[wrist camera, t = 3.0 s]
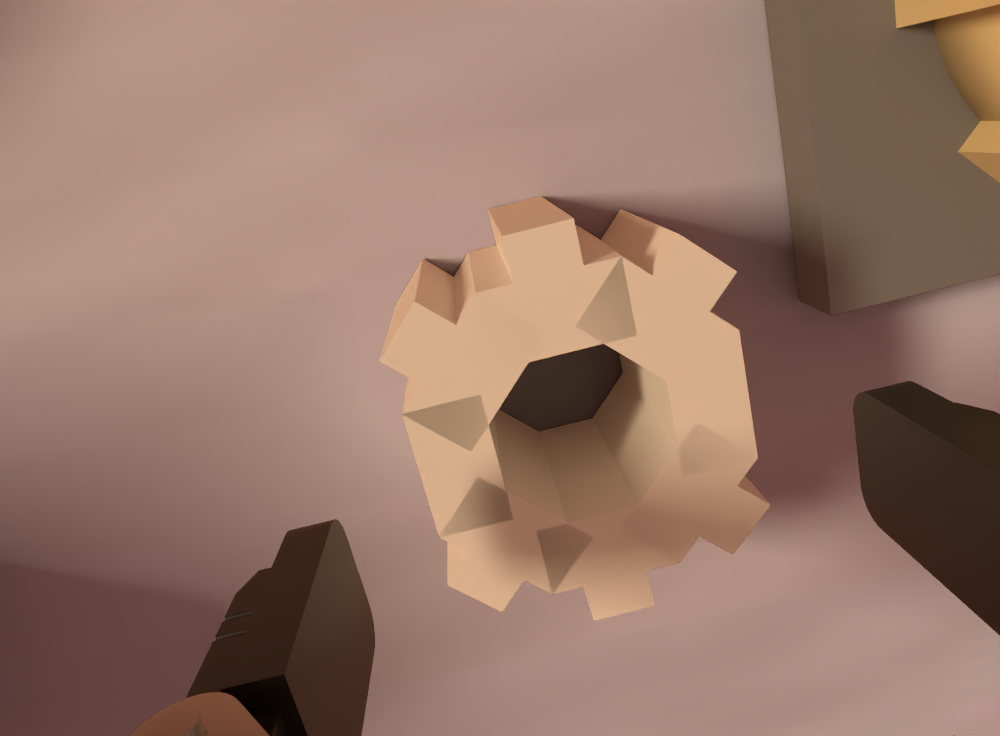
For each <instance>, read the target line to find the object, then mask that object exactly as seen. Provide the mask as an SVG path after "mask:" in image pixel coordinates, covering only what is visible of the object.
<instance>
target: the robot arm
mask: <svg viewBox="0 0 1000 736" xmlns="http://www.w3.org/2000/svg"><path fill="white" fill-rule="evenodd" d="M853 411H854V423H855V432H856V442H857V452H858V462H859V471H860V481H861V489H862V494H863V498H864V501H865V504H866V506H867V508H868V511H869V513H870V514H871V516H872V518H873V519H874V521H875V522H876V524H877V525H878V526H879V527H880V528H881V529H882V530H883V531H884V532H885V533H886V534H887V535H889V536H890V537H891V538H892V539H893V540H894V541H895V542H896V543H897V544H899V545H900V546H901V547H902V548H903V549H904V550H905V551H906V552H908V553H909V554H910V555H911V556H912V557H913V558H914V559H915V560H916V561H918V562H919V563H920V564H921V565H922V566H923V567H924V568H925V569H926V570H928V571H929V572H930V573H931V574H932V575H933V576H934V577H935V578H936V579H938V580H939V581H940V582H941V583H942V584H943V585H944V586H945V587H946V588H948V589H949V590H950V591H951V592H952V593H953V594H954V595H955V596H957V597H958V598H959V599H960V600H961V601H962V602H963V603H964V604H965V605H967V606H968V607H969V608H970V609H971V610H972V611H973V612H974V613H975V614H977V615H978V616H979V617H980V618H981V619H982V620H983V621H984V622H985V623H987V624H988V625H989V626H990V627H991V628H992V629H993V630H994V631H995V632H997V633H998V634H999V635H1000V414H998V413H996V412H994V411H990V410H986V409H981V408H977V407H973V406H968V405H964V404H959V403H953V402H951V401H949V400H947V399H945V398H943V397H942V396H940V395H938V394H936V393H934V392H932V391H930V390H928V389H926V388H924V387H922V386H920V385H918V384H916V383H914V382H912V381H907V382H903V383H899V384H895V385H891V386H886V387H882V388H878V389H874V390H870V391H866V392H862V393H859V394H858V395H857V396H856V398H855V400H854V407H853ZM374 649H375V632H374V624H373V618H372V613H371V609H370V606H369V602H368V599H367V597H366V594H365V591H364V588H363V585H362V582H361V579H360V576H359V573H358V570H357V567H356V564H355V561H354V558H353V555H352V552H351V549H350V546H349V543H348V540H347V537H346V534H345V531H344V529H343V527H342V525H341V524H340V522H339V521H338V520H336V519H335V520H331V521H327V522H323V523H319V524H315V525H310V526H306V527H302V528H298V529H294V530H290V531H288V532H287V533H286V535H285V537H284V540H283V542H282V544H281V547H280V549H279V552H278V554H277V556H276V559H275V561H274V563H273V566H272V568H268V569H264V570H260V571H258V572H257V573H256V574H255V575H254V576H253V577H252V578H251V579H250V580H249V581H248V582H247V583H246V584H245V585H244V586H243V587H242V588H241V589H240V590H239V591H238V592H237V593H236V595H235V597H234V599H233V601H232V603H231V605H230V607H229V609H228V612H227V614H226V616H225V621H224V622H222V624H221V626H220V628H219V630H218V632H217V635H216V641H214V642H213V643H212V645H211V647H210V649H209V651H208V653H207V655H206V658H205V660H204V662H203V664H202V666H201V668H200V670H199V672H198V674H197V676H196V678H195V681H194V683H193V685H192V687H191V689H190V691H189V693H188V695H187V697H186V699H183V700H180V701H178V702H176V703H174V704H172V705H170V706H168V707H166V708H164V709H163V710H161V711H159V712H158V713H156V714H155V715H153V716H152V717H150V718H149V719H148V720H146V721H145V722H144V723H143V724H141V725H140V726H139V727H138V728H137V729H136V730H135V731H134V732H133V733H131V734H130V735H129V736H361V734H362V728H363V721H364V715H365V708H366V702H367V695H368V689H369V682H370V675H371V669H372V662H373V656H374Z"/></svg>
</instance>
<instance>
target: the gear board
mask: <svg viewBox="0 0 1000 736" xmlns="http://www.w3.org/2000/svg"><path fill="white" fill-rule="evenodd" d="M765 8H766V17H767V25H768V33H769V42H770V50H771V59H772V67H773V75H774V84H775V92H776V101H777V109H778V117H779V126H780V134H781V143H782V151H783V159H784V168H785V176H786V185H787V193H788V201H789V210H790V218H791V227H792V235H793V243H794V252H795V260H796V269H797V277H798V285H799V294H800V301H801V302H803V303H805V304H807V305H810V306H812V307H814V308H816V309H818V310H820V311H822V312H824V313H826V314H829V315H831V316H833V315H837V314H841V313H845V312H849V311H853V310H857V309H861V308H865V307H869V306H873V305H877V304H881V303H885V302H889V301H893V300H897V299H901V298H905V297H909V296H913V295H917V294H921V293H925V292H929V291H933V290H937V289H941V288H945V287H949V286H953V285H957V284H961V283H965V282H969V281H973V280H977V279H981V278H985V277H989V276H993V275H997V274H1000V0H765Z"/></svg>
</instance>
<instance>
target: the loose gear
mask: <svg viewBox="0 0 1000 736" xmlns="http://www.w3.org/2000/svg"><path fill="white" fill-rule="evenodd" d="M488 212H489V216H490V220H491V224H492V228H493V232H494V237H495V241H496V245H495V246H491V247H487V248H483V249H479V250H476V251H472V252H468V254H467V256H466V257H465V259H464V261H463V263H462V264H461V266H460V268H459V269H458V271H457V273H456V274H455V276H454V277H453V276H452V275H450V274H448V273H447V272H445V271H443V270H441V269H440V268H438V267H436V266H435V265H433V264H431V263H430V262H428V261H426V260H424V259H422V261H421V263H420V264H419V266H418V268H417V270H416V271H415V273H414V275H413V276H412V278H411V280H410V282H409V283H408V285H407V287H406V288H405V290H404V292H403V294H402V295H401V297H400V299H399V300H398V302H397V304H396V307H395V310H394V314H393V317H392V320H391V324H390V327H389V331H388V334H387V337H386V341H385V344H384V347H383V351H382V354H381V357H380V362H381V363H383V364H385V365H387V366H389V367H391V368H392V369H394V370H396V371H398V372H400V373H402V374H403V375H405V376H407V377H408V380H407V386H406V392H405V399H404V405H403V411H402V416H403V419H404V422H405V426H406V429H407V432H408V435H409V439H410V442H411V445H412V449H413V452H414V455H415V459H416V462H417V465H418V469H419V472H420V475H421V479H422V482H423V485H424V489H425V492H426V495H427V499H428V502H429V505H430V508H431V512H432V515H433V518H434V522H435V525H436V528H437V532H438V535H439V538H442V539H444V540H446V541H447V581H448V586H450V587H452V588H454V589H456V590H458V591H460V592H462V593H464V594H466V595H468V596H470V597H472V598H474V599H476V600H479V601H481V602H483V603H485V604H487V605H489V606H491V607H493V608H495V609H497V610H499V611H501V612H502V611H503V610H504V608H505V607H506V605H507V604H508V603H509V601H510V600H511V598H512V597H513V595H514V594H515V592H516V591H517V590H518V588H519V587H520V585H521V584H522V582H523V581H524V580H525V581H527V582H529V583H531V584H533V585H535V586H537V587H539V588H541V589H543V590H545V591H547V592H549V593H551V594H556V593H560V592H564V591H568V590H572V589H576V588H580V587H584V590H585V593H586V596H587V600H588V603H589V606H590V609H591V613H592V616H593V619H594V621H595V620H599V619H603V618H607V617H611V616H615V615H619V614H623V613H627V612H631V611H635V610H639V609H643V608H647V607H651V606H654V602H653V597H652V592H651V588H650V583H649V578H648V573H647V571H648V570H652V569H656V568H660V567H665V566H669V565H673V564H677V563H680V562H681V561H682V559H683V558H684V557H685V555H686V554H687V552H688V551H689V550H690V548H691V547H692V546H693V544H694V543H695V542H696V540H697V539H698V538H699V536H700V537H702V538H703V539H705V540H707V541H709V542H711V543H713V544H714V545H716V546H718V547H720V548H722V549H724V550H725V551H727V552H729V553H731V554H734V553H735V551H736V550H737V549H738V548H739V546H740V545H741V544H742V542H743V541H744V540H745V538H746V537H747V536H748V534H749V533H750V532H751V531H752V529H753V528H754V527H755V525H756V524H757V523H758V521H759V520H760V519H761V517H762V516H763V515H764V513H765V512H766V511H767V510H768V508H769V507H770V506H771V505H770V504H769V502H768V501H767V500H766V499H765V498H764V497H763V495H762V494H761V493H760V492H759V491H758V490H757V489H756V487H755V486H754V485H753V484H752V483H751V482H750V481H749V479H748V478H747V477H746V476H745V475H746V473H747V472H748V471H749V469H750V468H751V467H752V465H753V464H754V463H755V461H756V460H757V459H758V455H757V448H756V441H755V434H754V427H753V421H752V414H751V407H750V400H749V393H748V387H747V380H746V373H745V366H744V359H743V352H742V346H741V339H740V332H739V329H737V328H736V327H734V326H733V325H731V324H730V323H728V322H727V321H725V320H724V319H723V318H721V317H720V316H718V315H717V314H715V313H714V312H712V311H711V309H712V307H713V306H714V305H715V303H716V302H717V300H718V299H719V297H720V296H721V294H722V293H723V292H724V290H725V289H726V287H727V286H728V284H729V283H730V281H731V280H732V279H733V277H734V276H735V274H736V273H737V271H736V270H734V269H733V268H731V267H729V266H728V265H726V264H725V263H723V262H722V261H720V260H719V259H717V258H716V257H714V256H712V255H711V254H709V253H708V252H706V251H705V250H703V249H702V248H700V247H699V246H697V245H695V244H694V243H692V242H691V241H689V240H688V239H686V238H685V237H683V236H682V235H680V234H678V233H675V232H673V231H671V230H668V229H666V228H664V227H661V226H659V225H657V224H654V223H652V222H650V221H648V220H645V219H643V218H641V217H638V216H636V215H634V214H631V213H629V212H627V211H624V210H622V209H620V211H619V212H618V214H617V215H616V217H615V218H614V220H613V221H612V223H611V225H610V226H609V228H608V229H607V231H606V232H605V234H604V236H603V237H602V239H601V240H600V239H598V238H597V237H595V236H594V235H592V234H590V233H589V232H587V231H586V230H584V229H583V228H581V227H580V226H578V225H575V221H574V218H573V217H571V216H570V215H568V214H567V213H565V212H564V211H562V210H561V209H559V208H558V207H556V206H555V205H553V204H552V203H550V202H549V201H547V200H546V199H544V198H543V197H541V196H540V197H536V198H533V199H529V200H525V201H521V202H517V203H513V204H509V205H505V206H501V207H497V208H493V209H489V210H488ZM600 344H605V345H607V346H608V347H610V348H612V349H613V350H615V351H617V352H618V353H619V356H620V361H621V366H622V371H623V374H622V375H621V376H620V378H619V379H618V381H617V382H616V384H615V385H614V387H613V388H612V390H611V391H610V393H609V394H608V396H607V397H606V399H605V400H604V402H603V403H602V405H601V406H600V408H599V409H598V411H597V412H596V413H595V415H594V416H593V418H591V419H587V420H583V421H579V422H575V423H571V424H567V425H563V426H559V427H555V428H551V429H547V430H543V431H537V430H535V429H533V428H532V427H530V426H528V425H526V424H524V423H523V422H521V421H519V420H517V419H515V418H513V417H512V416H510V415H508V414H506V413H504V412H503V411H501V410H499V408H500V406H501V405H502V403H503V402H504V400H505V399H506V397H507V395H508V394H509V392H510V391H511V389H512V388H513V386H514V385H515V383H516V381H517V380H518V378H519V377H520V375H521V374H522V372H523V370H524V369H525V367H526V366H527V364H528V363H529V362H532V361H536V360H540V359H544V358H548V357H552V356H556V355H560V354H564V353H568V352H572V351H576V350H580V349H584V348H588V347H592V346H596V345H600Z"/></svg>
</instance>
